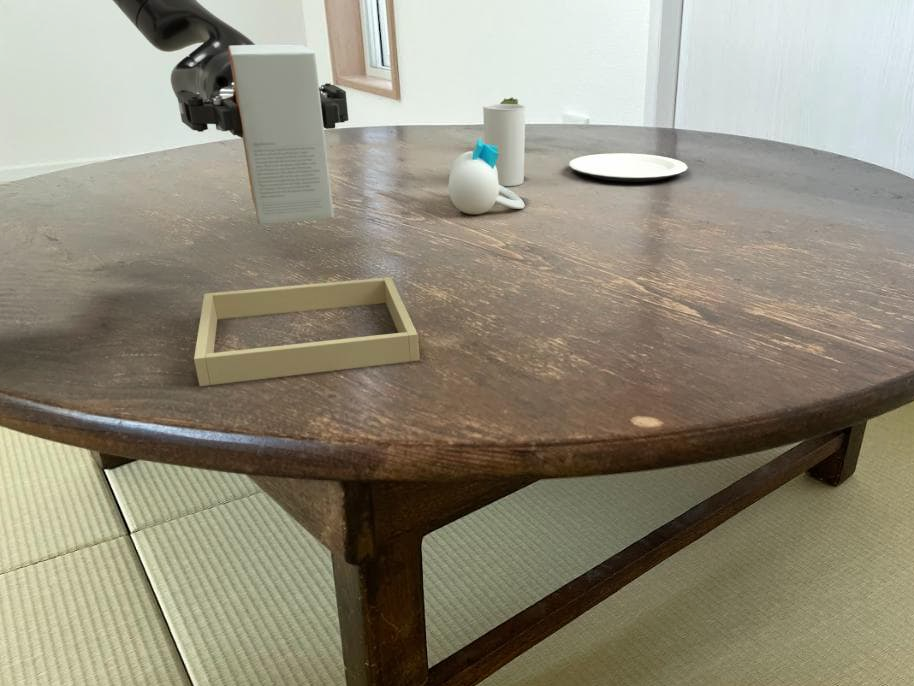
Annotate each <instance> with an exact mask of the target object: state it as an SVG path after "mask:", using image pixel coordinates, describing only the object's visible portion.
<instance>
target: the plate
mask: <svg viewBox="0 0 914 686" xmlns="http://www.w3.org/2000/svg"><path fill="white" fill-rule="evenodd" d="M568 167H569V169H571V170H572V171H573V172H577V173H579V174H581V175H586V176H588V177H590V178H594V179H599V180H603V181H608V182H609V181H610V182H620V183H645V182H654V181H660V180H665V179H668V178H671V177H677V176H680V175H682V174H684V173H686V171H687V170H688V165H687V164H686V162H682V161H681V160H678V159H675V158H672V157H667V156H661V155H654V154H645V153H623V152H620V153H619V152H617V153H613V152H612V153H598V154H597V153H596V154H590V155H589V154H588V155H584V156H583V155H582V156H578V157H576V158H573V159H572V160H570V161H569V162H568Z"/></svg>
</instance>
